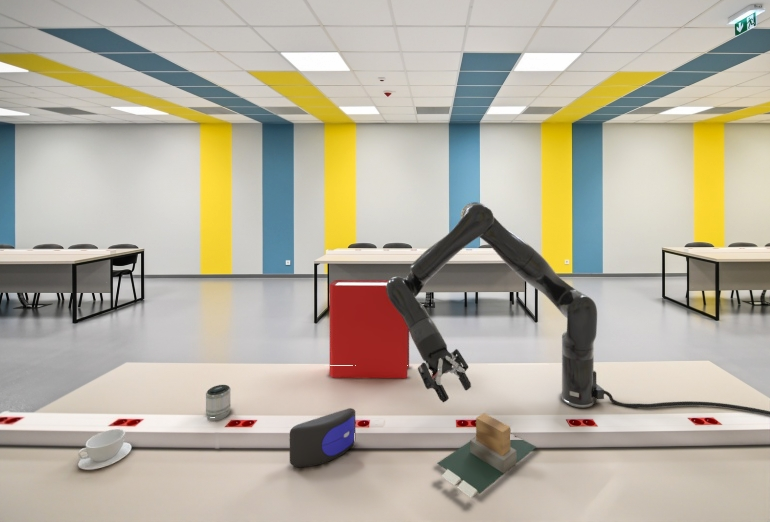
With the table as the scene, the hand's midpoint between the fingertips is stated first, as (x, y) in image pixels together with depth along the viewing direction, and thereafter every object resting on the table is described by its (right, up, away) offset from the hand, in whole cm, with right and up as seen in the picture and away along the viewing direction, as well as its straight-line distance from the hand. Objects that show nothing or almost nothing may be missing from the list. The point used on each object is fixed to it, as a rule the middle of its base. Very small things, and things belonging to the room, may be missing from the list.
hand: (457, 394), depth 104 cm
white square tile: (-3, -11, -16) cm, 20 cm away
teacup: (-86, -12, -7) cm, 87 cm away
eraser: (+8, -11, -8) cm, 16 cm away
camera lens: (-69, -12, +12) cm, 71 cm away
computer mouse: (-33, -12, -6) cm, 36 cm away
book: (-29, -12, +38) cm, 49 cm away
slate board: (+7, -12, -7) cm, 16 cm away
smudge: (0, -11, -19) cm, 22 cm away
